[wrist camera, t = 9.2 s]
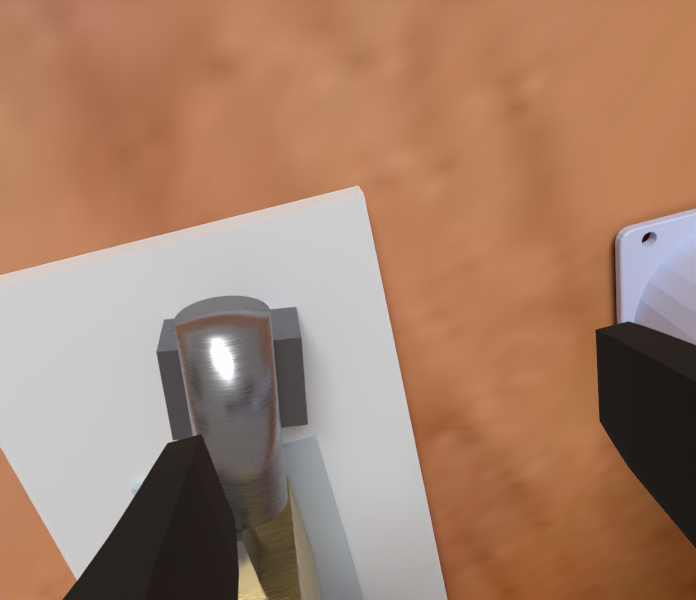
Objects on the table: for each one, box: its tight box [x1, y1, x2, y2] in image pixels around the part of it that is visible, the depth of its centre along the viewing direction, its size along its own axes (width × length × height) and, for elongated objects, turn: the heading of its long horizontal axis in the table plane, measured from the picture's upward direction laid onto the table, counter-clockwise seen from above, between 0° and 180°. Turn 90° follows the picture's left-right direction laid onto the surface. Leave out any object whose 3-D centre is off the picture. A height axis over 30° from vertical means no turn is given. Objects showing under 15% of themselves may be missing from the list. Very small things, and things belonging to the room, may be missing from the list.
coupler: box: [236, 477, 320, 600], centre depth 21 cm, size 4×8×5 cm, turn 12°
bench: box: [0, 186, 447, 600], centre depth 25 cm, size 13×25×1 cm, turn 12°
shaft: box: [156, 296, 308, 530], centre depth 19 cm, size 6×4×4 cm, turn 2°
